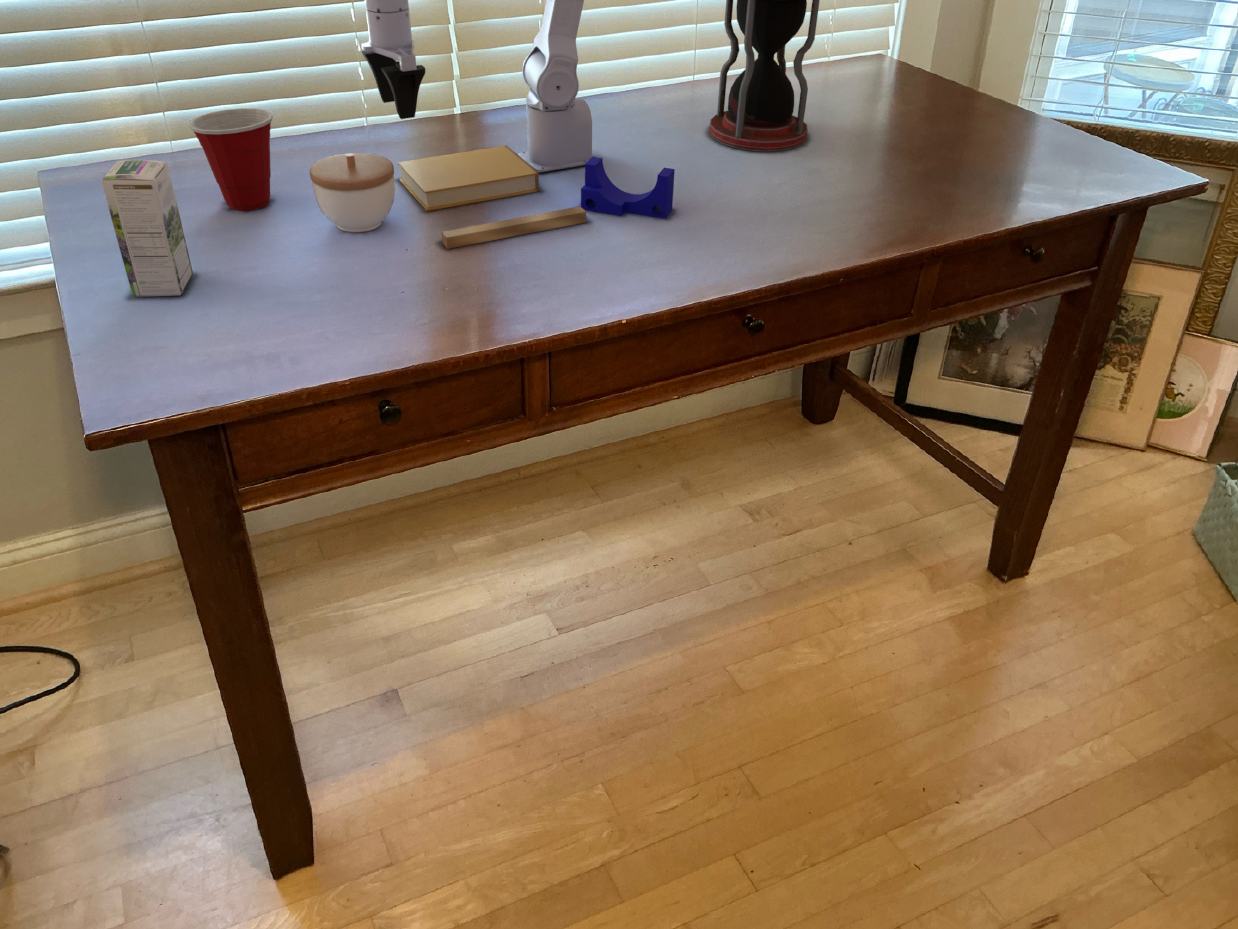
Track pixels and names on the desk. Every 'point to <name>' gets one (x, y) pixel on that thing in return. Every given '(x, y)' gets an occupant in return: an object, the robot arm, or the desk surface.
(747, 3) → the hourglass
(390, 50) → the robot arm
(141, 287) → the syrup box
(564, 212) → the rail
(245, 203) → the plastic cup
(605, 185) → the blue cradle bracket
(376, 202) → the trinket box
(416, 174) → the book
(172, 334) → the desk surface
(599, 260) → the desk surface
